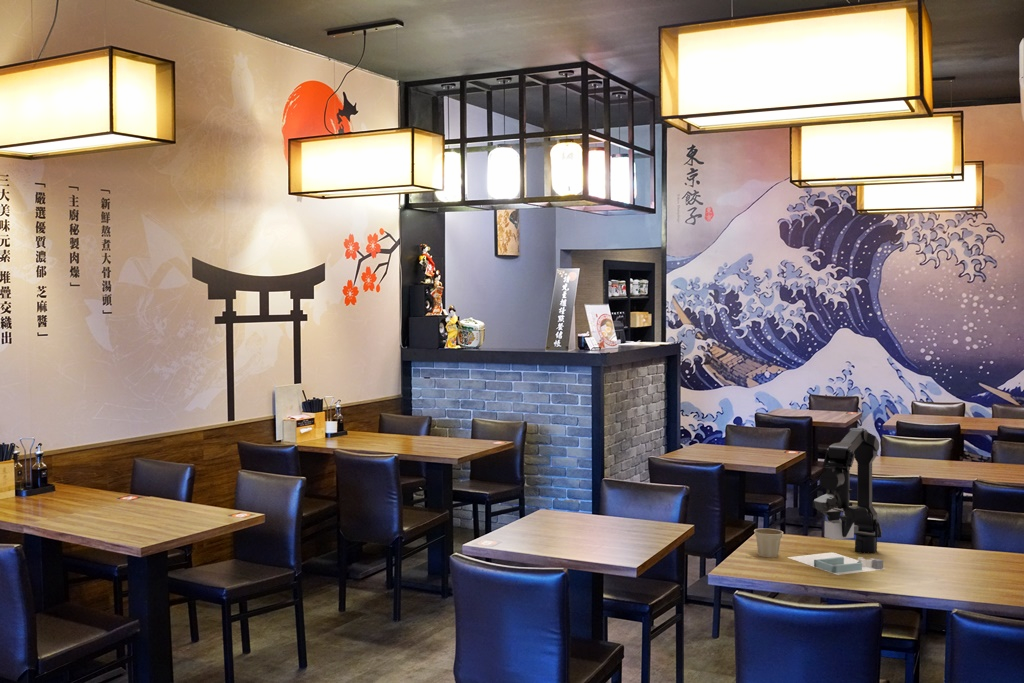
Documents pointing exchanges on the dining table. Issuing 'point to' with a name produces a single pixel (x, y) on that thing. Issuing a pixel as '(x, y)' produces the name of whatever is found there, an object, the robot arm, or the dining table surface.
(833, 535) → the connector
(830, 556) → the board
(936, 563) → the dining table surface
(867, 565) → the clips
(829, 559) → the holder
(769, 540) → the flower pot
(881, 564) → the grey blocky piece
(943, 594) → the dining table surface
